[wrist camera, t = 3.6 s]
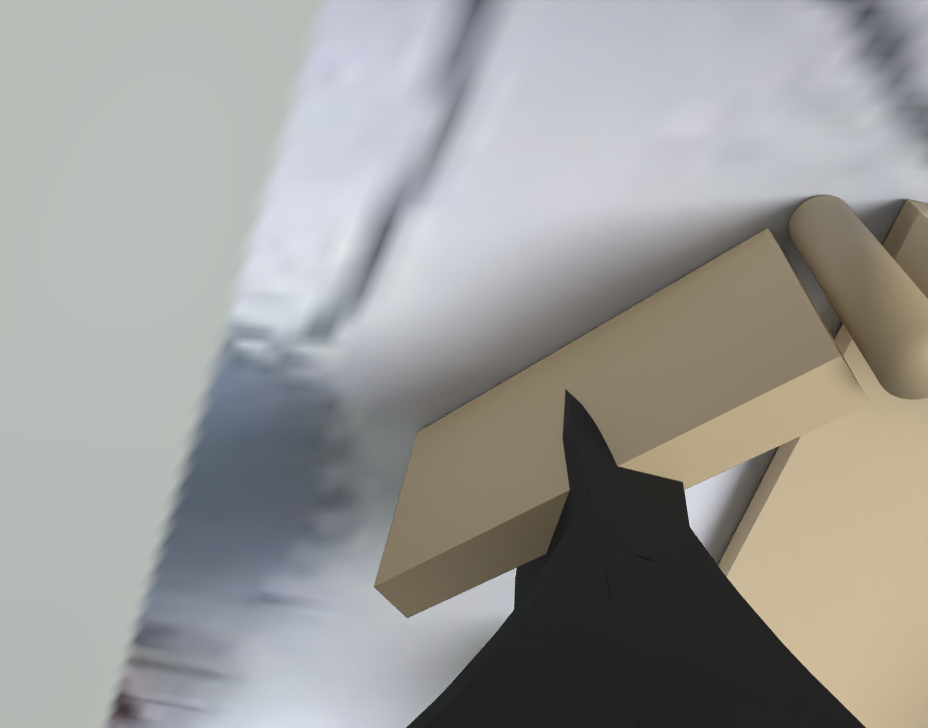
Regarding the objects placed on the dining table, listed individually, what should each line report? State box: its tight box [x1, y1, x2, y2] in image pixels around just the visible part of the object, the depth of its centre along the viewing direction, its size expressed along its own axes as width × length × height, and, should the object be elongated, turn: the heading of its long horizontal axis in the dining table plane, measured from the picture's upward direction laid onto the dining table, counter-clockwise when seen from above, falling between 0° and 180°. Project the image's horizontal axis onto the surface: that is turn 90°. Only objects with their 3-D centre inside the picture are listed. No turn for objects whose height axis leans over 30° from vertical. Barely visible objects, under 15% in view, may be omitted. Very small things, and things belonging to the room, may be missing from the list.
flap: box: [374, 195, 928, 618], centre depth 9 cm, size 6×1×3 cm, turn 128°
